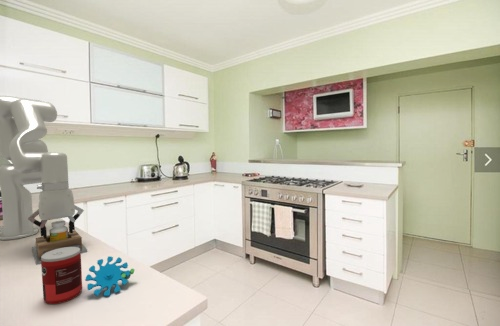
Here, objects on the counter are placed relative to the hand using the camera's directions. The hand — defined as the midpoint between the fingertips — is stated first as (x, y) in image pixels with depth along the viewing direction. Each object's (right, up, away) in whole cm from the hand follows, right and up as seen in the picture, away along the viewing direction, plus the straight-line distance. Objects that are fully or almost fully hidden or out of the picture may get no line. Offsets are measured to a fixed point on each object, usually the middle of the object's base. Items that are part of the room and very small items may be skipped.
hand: (58, 234), depth 90 cm
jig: (0, -6, 0) cm, 6 cm away
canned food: (+23, -7, -28) cm, 38 cm away
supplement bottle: (0, -5, 0) cm, 5 cm away
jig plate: (0, -6, 0) cm, 6 cm away
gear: (+34, -7, -26) cm, 43 cm away
